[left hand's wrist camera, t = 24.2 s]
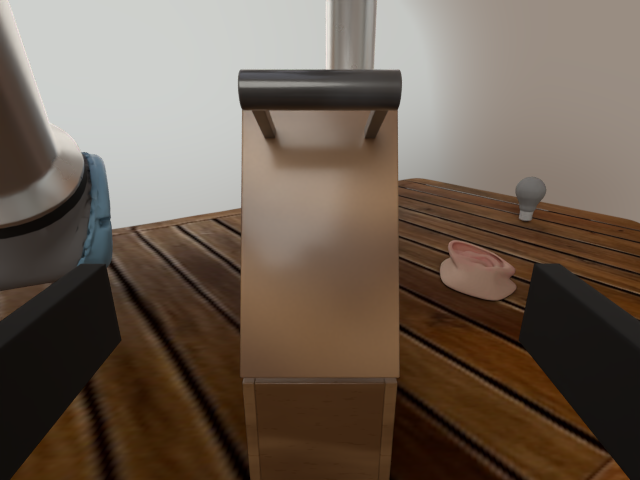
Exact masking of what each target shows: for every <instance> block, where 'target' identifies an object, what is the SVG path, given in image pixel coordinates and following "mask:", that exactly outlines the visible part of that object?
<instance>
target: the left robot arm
mask: <svg viewBox="0 0 640 480" xmlns="http://www.w3.org/2000/svg"><path fill="white" fill-rule="evenodd" d="M110 218H111V216H110V200H109V191H108V183H107V176H106V170H105V166H104V162H103V160H102V158H101V157H99V156H97V155H94V154H88V153H85V152H81V151H80V149H79V147H78V145H77V143H76V142H75V141H74V139H73V138H72V137H71V136H70V135H69V134H67V133H66V132H65V131H64V130H62V129H60V128H59V127H57V126H55V125H53V124H51V123H50V122H49V119H48V116H47V113H46V110H45V107H44V104H43V101H42V98H41V95H40V92H39V90H38V86H37V83H36V81H35V78H34V75H33V72H32V69H31V66H30V63H29V60H28V57H27V54H26V51H25V48H24V45H23V42H22V39H21V36H20V33H19V30H18V27H17V24H16V21H15V18H14V15H13V12H12V9H11V6H10V4H9V1H8V0H0V291H3V290H9V289H15V288H21V287H27V286H33V285H39V284H45V283H52V282H55V283H53V284H52V285H50V286H49V287H48V288H46V289H45V290H43V291H42V292H41V293H39V294H38V295H36V296H35V297H34V298H32V299H31V300H29V301H28V302H27V303H25V304H24V305H23V306H21V307H20V308H18V309H17V310H16V311H14V312H13V313H11V314H10V315H9V316H7V317H6V318H4V319H3V320H2V321H0V480H10V479H11V478H12V476H13V475H14V474H15V473H16V471H17V470H18V469H19V468H20V466H21V465H22V464H23V463H24V461H25V460H26V459H27V458H28V456H29V455H30V454H31V453H32V451H33V450H34V449H35V448H36V446H37V445H38V444H39V443H40V441H41V440H42V439H43V438H44V436H45V435H46V434H47V433H48V431H49V430H50V429H51V428H52V426H53V425H54V424H55V423H56V421H57V420H58V419H59V418H60V416H61V415H62V414H63V413H64V411H65V410H66V409H67V408H68V406H69V405H70V404H71V403H72V401H73V400H74V399H75V398H76V396H77V395H78V394H79V393H80V391H81V390H82V389H83V388H84V386H85V385H86V384H87V383H88V381H89V380H90V379H91V378H92V376H93V375H94V374H95V373H96V371H97V370H98V369H99V368H100V366H101V365H102V364H103V363H104V361H105V360H106V359H107V358H108V356H109V355H110V354H111V353H112V351H113V350H114V349H115V348H116V346H117V345H118V344H119V343H120V341H121V336H120V331H119V326H118V322H117V317H116V312H115V307H114V302H113V297H112V292H111V287H110V282H109V278H108V273H107V267H108V266H109V264H110V262H111V259H112V227H111V222H110ZM519 341H520V343H521V344H522V345H523V346H524V348H525V349H526V350H527V351H528V353H529V354H530V355H531V356H532V358H533V359H534V360H535V361H536V363H537V364H538V365H539V366H540V368H541V369H542V370H543V371H544V373H545V374H546V375H547V376H548V378H549V379H550V380H551V381H552V383H553V384H554V385H555V386H556V388H557V389H558V390H559V391H560V393H561V394H562V395H563V396H564V398H565V399H566V400H567V401H568V403H569V404H570V405H571V406H572V408H573V409H574V410H575V411H576V413H577V414H578V415H579V416H580V418H581V419H582V420H583V421H584V423H585V424H586V425H587V426H588V428H589V429H590V430H591V431H592V433H593V434H594V435H595V436H596V438H597V439H598V440H599V441H600V443H601V444H602V445H603V446H604V448H605V449H606V450H607V451H608V453H609V454H610V455H611V456H612V458H613V459H614V460H615V461H616V463H617V464H618V465H619V466H620V468H621V469H622V470H623V471H624V473H625V474H626V475H627V476H628V478H629V479H630V480H640V321H638V320H637V319H636V318H634V317H633V316H631V315H630V314H629V313H627V312H626V311H624V310H623V309H622V308H620V307H619V306H617V305H616V304H615V303H613V302H612V301H611V300H609V299H608V298H606V297H605V296H604V295H602V294H601V293H599V292H598V291H597V290H595V289H594V288H592V287H591V286H590V285H588V284H587V283H585V282H584V281H583V280H581V279H580V278H578V277H577V276H576V275H574V274H573V273H572V272H570V271H569V270H567V269H566V268H565V267H563V266H562V265H560V264H534V268H533V273H532V278H531V282H530V287H529V292H528V297H527V302H526V307H525V312H524V317H523V321H522V326H521V331H520V336H519Z"/></svg>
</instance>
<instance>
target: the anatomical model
mask: <svg viewBox="0 0 640 480" xmlns="http://www.w3.org/2000/svg"><path fill="white" fill-rule="evenodd" d="M448 251H449V254H450V258H448V259H446V260H444V261H443V262H442V264H441V267H440V276H441V279H442V281H443V283H444V284H445V285H447V286H448V287H450V288H452V289H454V290H456V291H459V292H461V293H464V294H467V295H471V296H474V297H477V298H481V299H486V300H494V301H495V300H501V299H503V298H505V297H507V296H509V295H510V294H512V293H513V292H514V291H515V290H516V285H515V284H514V283H513V282H512V281H511V280H510V277H511V276H512V275H514V273H515V268H514V267H513V266H511V265H510V264H509V263H507V262H506V261H505V260H503V259H502V258H500V257H499V256H497V255H496V254H494V253H492V252H490V251H488V250H486V249H483V248H481V247H478V246H475V245H473V244H469V243H466V242H462V241H456V240H455V241H451V242H450V243H449V245H448Z"/></svg>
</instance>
